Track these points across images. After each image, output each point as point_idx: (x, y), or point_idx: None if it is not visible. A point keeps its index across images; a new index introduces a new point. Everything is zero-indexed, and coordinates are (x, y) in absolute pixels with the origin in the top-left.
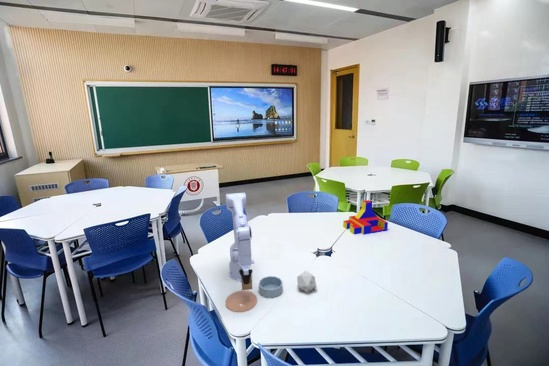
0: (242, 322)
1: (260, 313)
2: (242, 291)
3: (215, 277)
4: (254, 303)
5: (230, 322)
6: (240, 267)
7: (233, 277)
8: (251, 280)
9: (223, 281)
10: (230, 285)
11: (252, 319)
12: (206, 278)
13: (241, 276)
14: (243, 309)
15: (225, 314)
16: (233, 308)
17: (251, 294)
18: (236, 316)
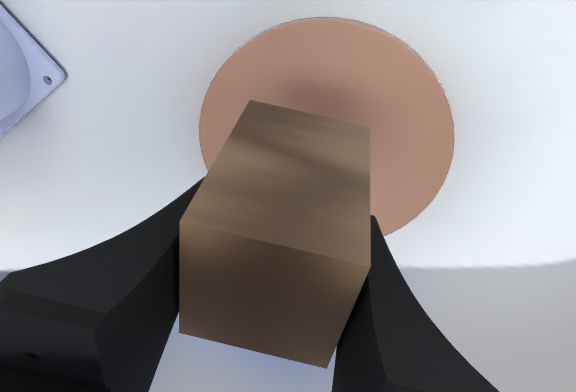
0: (542, 200)
1: (551, 49)
2: (209, 114)
3: (6, 218)
4: (413, 69)
5: (487, 254)
6: (151, 379)
7: (5, 124)
8: (369, 203)
9: (51, 189)
10: (102, 161)
11: (568, 132)
12: (20, 258)
13: (327, 363)
14: (434, 170)
15: (398, 257)
16: (384, 220)
17: (274, 55)
18: (456, 214)
